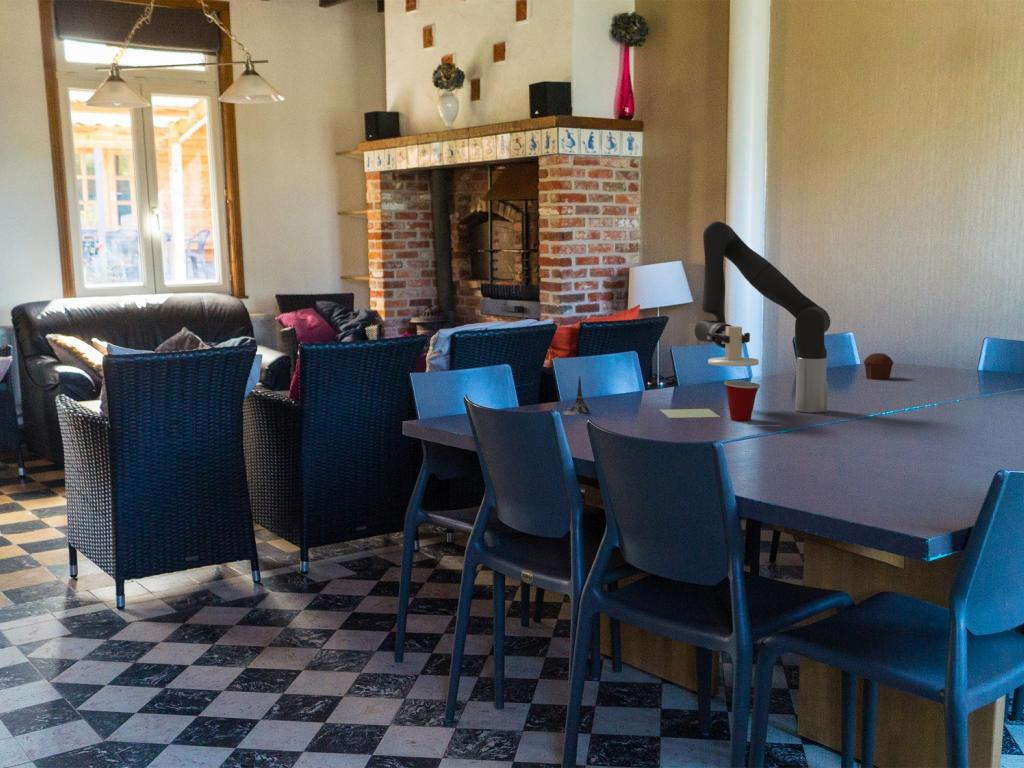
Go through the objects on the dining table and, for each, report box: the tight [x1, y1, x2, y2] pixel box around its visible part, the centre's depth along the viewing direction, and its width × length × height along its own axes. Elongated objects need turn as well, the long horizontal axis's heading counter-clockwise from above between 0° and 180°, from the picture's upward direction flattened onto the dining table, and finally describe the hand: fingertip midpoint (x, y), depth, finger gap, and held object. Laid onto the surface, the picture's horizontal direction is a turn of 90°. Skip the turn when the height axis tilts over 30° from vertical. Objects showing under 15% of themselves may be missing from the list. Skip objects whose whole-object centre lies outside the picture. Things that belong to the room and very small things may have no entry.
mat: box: [659, 408, 721, 419], centre depth 326 cm, size 16×16×1 cm
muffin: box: [863, 352, 894, 381], centre depth 410 cm, size 12×11×10 cm
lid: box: [707, 325, 760, 367], centre depth 312 cm, size 15×15×11 cm
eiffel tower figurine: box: [562, 374, 591, 416], centre depth 334 cm, size 15×10×13 cm
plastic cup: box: [723, 380, 761, 423], centre depth 312 cm, size 11×11×12 cm
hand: (736, 339), depth 309 cm, fingers closed on lid, 4 cm apart
